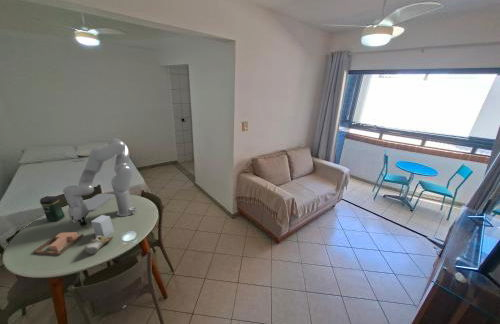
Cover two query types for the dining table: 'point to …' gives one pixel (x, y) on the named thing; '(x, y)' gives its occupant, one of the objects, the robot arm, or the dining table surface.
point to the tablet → (97, 201)
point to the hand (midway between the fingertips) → (83, 225)
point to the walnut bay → (39, 251)
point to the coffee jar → (52, 208)
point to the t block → (63, 240)
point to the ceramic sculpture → (96, 244)
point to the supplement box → (102, 226)
